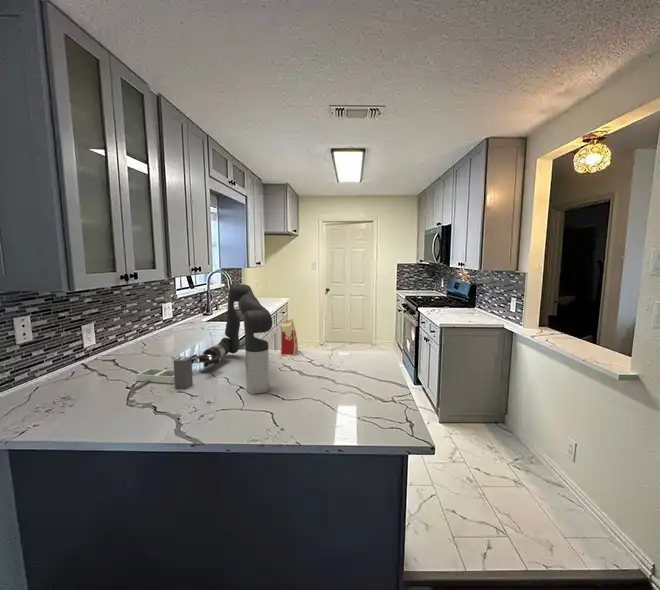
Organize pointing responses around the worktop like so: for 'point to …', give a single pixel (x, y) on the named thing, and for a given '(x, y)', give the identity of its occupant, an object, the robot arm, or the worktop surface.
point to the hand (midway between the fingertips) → (196, 364)
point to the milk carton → (289, 339)
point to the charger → (183, 372)
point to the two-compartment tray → (155, 377)
